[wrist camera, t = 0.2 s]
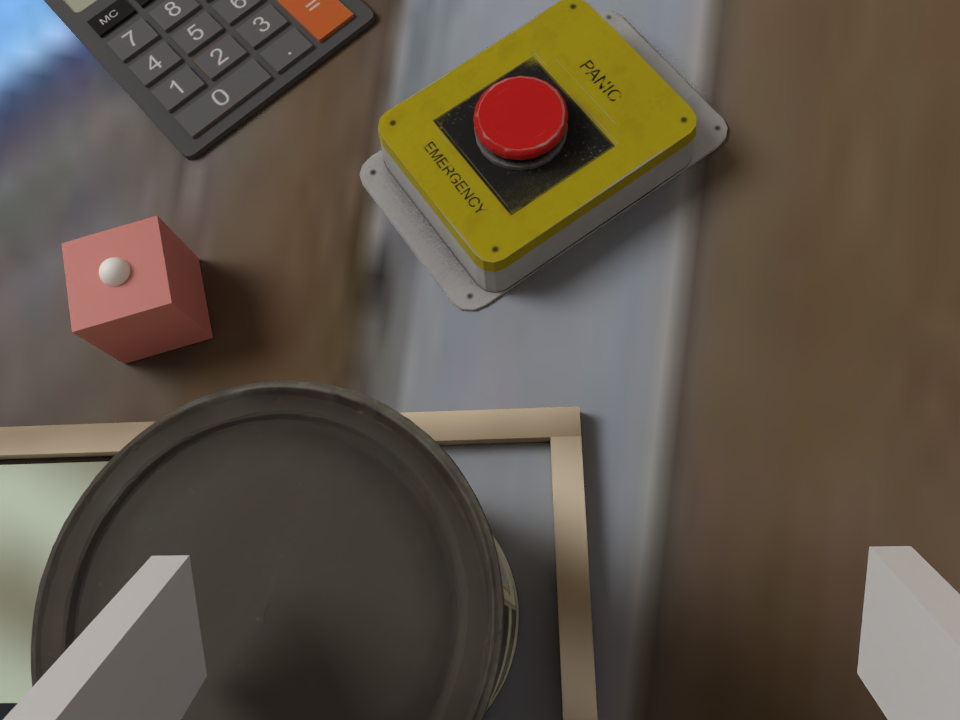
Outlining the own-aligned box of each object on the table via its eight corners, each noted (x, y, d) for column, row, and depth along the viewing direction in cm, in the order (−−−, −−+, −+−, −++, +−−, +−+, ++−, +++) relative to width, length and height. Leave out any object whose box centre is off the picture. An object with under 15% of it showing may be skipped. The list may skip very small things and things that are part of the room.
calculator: (185, 156, 37) (26, -21, 41) (193, 167, 38) (36, -7, 42) (375, 11, 38) (204, -144, 43) (379, 25, 39) (211, -129, 44)
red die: (213, 337, 34) (164, 296, 30) (124, 364, 34) (63, 326, 30) (198, 258, 35) (149, 208, 31) (113, 283, 35) (52, 236, 31)
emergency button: (329, 120, 33) (615, -61, 34) (354, 176, 37) (608, 12, 39) (454, 284, 30) (759, 78, 32) (465, 325, 34) (734, 141, 36)
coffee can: (529, 759, 28) (515, 887, 15) (248, 766, 29) (-10, 894, 15) (515, 473, 31) (493, 365, 18) (263, 485, 32) (61, 390, 19)
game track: (603, 844, 27) (605, 851, 26) (-200, 841, 29) (-220, 848, 28) (578, 411, 32) (579, 406, 31) (-109, 435, 34) (-124, 431, 33)
